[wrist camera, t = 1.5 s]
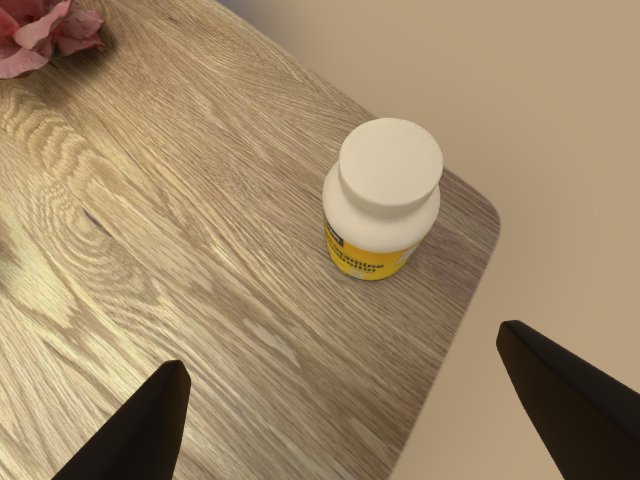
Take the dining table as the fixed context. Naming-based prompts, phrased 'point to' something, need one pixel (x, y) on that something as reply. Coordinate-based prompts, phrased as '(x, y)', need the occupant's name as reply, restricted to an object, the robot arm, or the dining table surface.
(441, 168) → the pill bottle
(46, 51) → the flower
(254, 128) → the dining table surface
